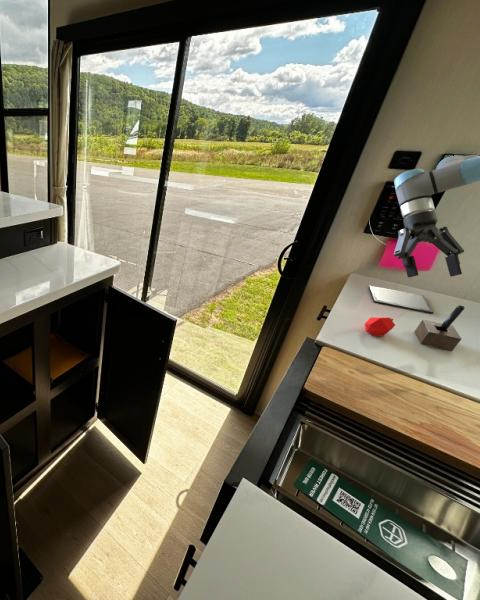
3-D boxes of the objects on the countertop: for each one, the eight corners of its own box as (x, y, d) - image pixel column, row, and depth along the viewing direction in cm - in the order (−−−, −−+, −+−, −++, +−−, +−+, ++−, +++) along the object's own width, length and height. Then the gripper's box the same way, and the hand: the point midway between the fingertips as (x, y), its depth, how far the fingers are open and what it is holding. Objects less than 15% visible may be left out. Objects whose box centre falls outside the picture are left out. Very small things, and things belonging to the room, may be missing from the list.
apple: (376, 326, 102) (402, 317, 101) (358, 317, 108) (383, 308, 107) (377, 343, 104) (403, 334, 103) (360, 333, 110) (384, 325, 109)
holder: (444, 337, 104) (453, 325, 101) (451, 351, 99) (461, 339, 96) (414, 331, 107) (422, 319, 104) (420, 344, 102) (429, 331, 99)
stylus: (434, 340, 103) (464, 305, 96) (436, 343, 102) (467, 307, 95) (428, 338, 104) (457, 303, 97) (430, 341, 103) (460, 305, 96)
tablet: (422, 296, 124) (424, 295, 124) (432, 313, 115) (434, 312, 114) (368, 286, 132) (369, 285, 131) (373, 302, 122) (374, 300, 122)
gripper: (444, 219, 109) (460, 278, 105) (371, 221, 110) (384, 279, 106) (469, 208, 102) (488, 271, 98) (391, 210, 103) (406, 273, 98)
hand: (434, 275), depth 102 cm, fingers open, 13 cm apart
